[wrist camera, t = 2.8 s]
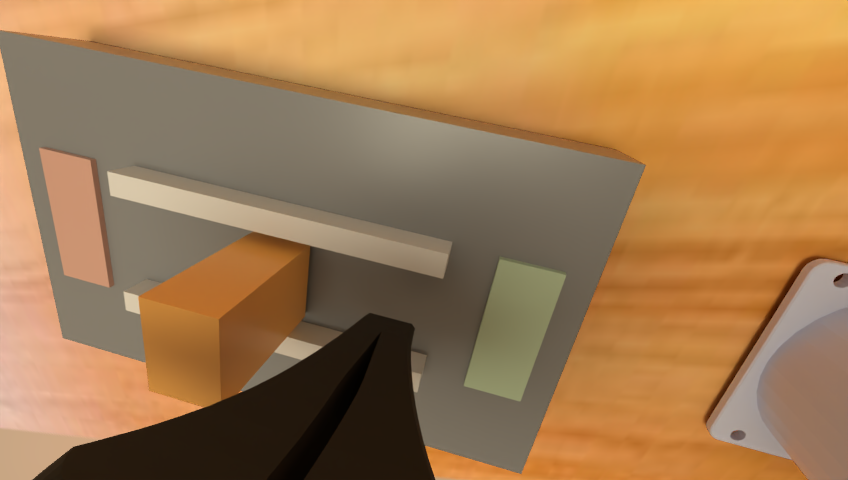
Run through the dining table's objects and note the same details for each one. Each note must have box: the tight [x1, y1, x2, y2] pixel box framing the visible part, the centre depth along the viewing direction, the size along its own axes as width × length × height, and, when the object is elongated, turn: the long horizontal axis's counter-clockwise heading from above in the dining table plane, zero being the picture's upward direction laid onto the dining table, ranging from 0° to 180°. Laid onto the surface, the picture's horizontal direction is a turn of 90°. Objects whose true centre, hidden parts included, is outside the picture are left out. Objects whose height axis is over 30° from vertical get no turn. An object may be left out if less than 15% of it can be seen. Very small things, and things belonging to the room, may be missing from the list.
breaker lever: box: [138, 231, 310, 407], centre depth 11 cm, size 2×3×4 cm
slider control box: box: [0, 30, 646, 474], centre depth 14 cm, size 20×12×4 cm, turn 80°
